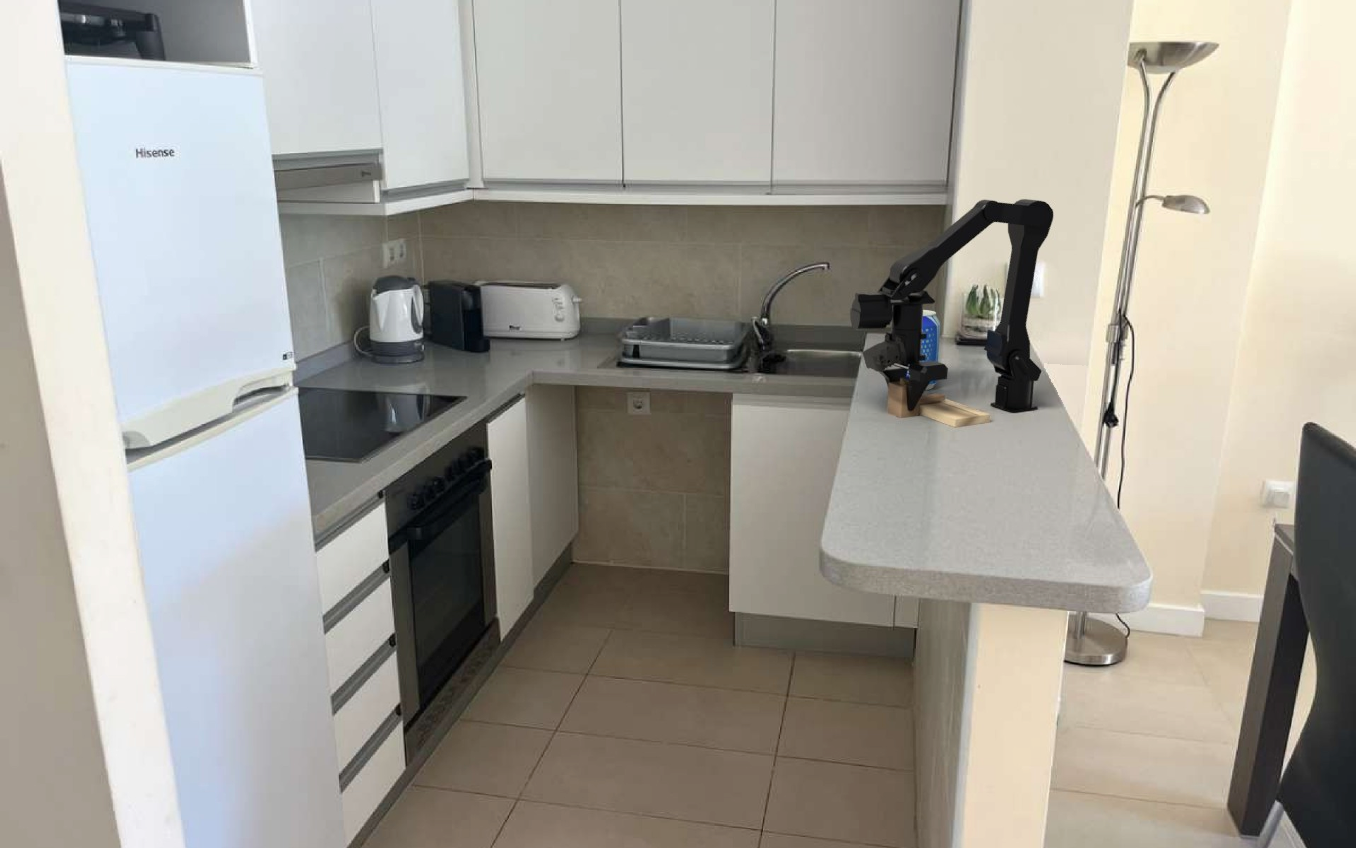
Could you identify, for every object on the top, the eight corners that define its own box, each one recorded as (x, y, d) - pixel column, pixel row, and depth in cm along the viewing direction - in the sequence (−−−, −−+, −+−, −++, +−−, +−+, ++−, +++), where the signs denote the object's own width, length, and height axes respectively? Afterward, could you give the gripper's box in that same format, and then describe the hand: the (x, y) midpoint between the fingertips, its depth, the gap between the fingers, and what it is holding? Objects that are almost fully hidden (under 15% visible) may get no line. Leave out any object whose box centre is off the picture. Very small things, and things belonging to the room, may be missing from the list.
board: (935, 402, 200) (936, 395, 199) (989, 422, 186) (990, 414, 185) (902, 407, 197) (902, 400, 196) (954, 427, 183) (955, 419, 182)
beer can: (893, 389, 211) (896, 314, 207) (900, 380, 219) (903, 308, 214) (933, 392, 208) (937, 316, 204) (939, 383, 215) (943, 310, 211)
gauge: (933, 406, 198) (935, 371, 196) (948, 411, 194) (950, 375, 192) (887, 412, 193) (888, 377, 191) (900, 418, 189) (902, 382, 188)
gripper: (842, 323, 193) (840, 402, 197) (900, 339, 176) (897, 424, 181) (891, 318, 197) (888, 395, 201) (951, 334, 181) (947, 417, 185)
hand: (903, 407), depth 192 cm, fingers closed on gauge, 4 cm apart
